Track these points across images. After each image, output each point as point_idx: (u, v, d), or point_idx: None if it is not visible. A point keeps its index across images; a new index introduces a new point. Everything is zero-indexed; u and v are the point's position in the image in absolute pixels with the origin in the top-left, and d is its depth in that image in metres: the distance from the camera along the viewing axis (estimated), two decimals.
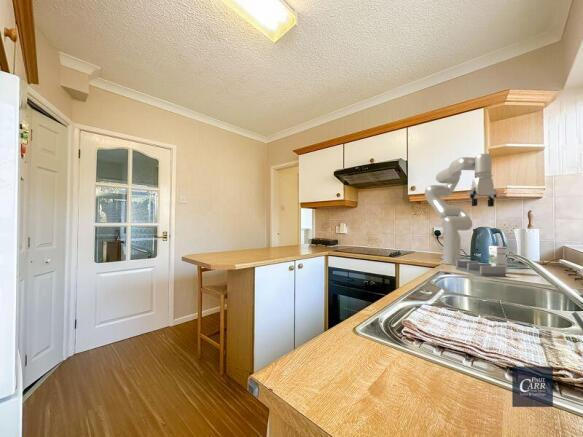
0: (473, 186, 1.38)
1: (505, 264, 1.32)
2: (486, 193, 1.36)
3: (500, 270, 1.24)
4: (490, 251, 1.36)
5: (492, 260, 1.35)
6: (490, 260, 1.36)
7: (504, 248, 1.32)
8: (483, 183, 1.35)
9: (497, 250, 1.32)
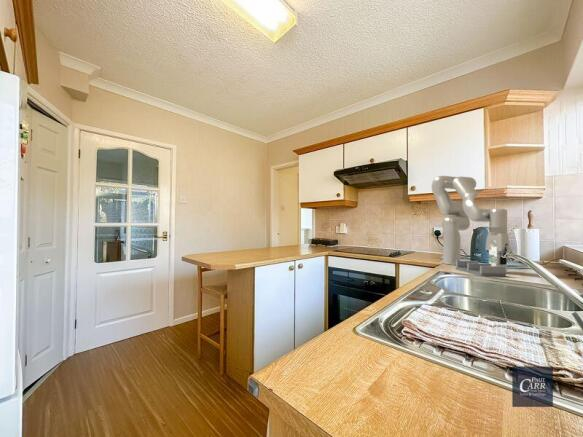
0: (505, 242, 1.30)
1: None
2: None
3: (500, 270, 1.24)
4: (490, 251, 1.36)
5: (492, 260, 1.35)
6: (490, 260, 1.36)
7: None
8: None
9: None
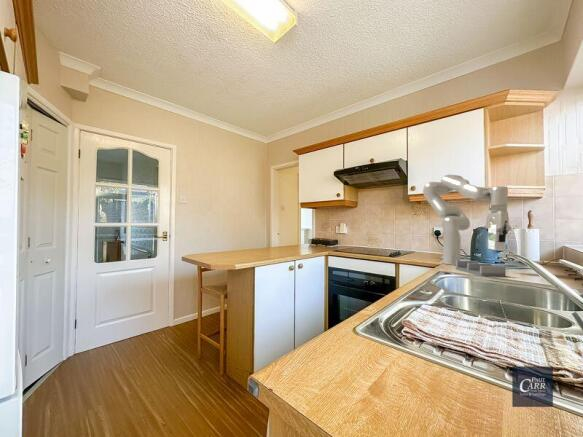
0: (504, 219, 1.30)
1: None
2: None
3: (500, 270, 1.24)
4: (489, 229, 1.37)
5: (491, 237, 1.35)
6: (489, 238, 1.37)
7: None
8: None
9: (496, 227, 1.32)
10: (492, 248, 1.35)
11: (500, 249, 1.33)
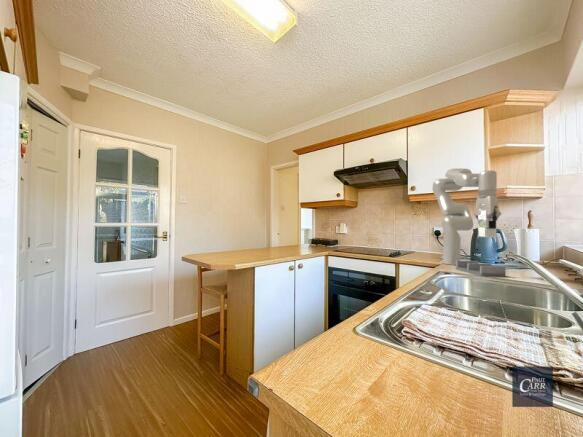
0: (494, 204, 1.24)
1: (494, 228, 1.26)
2: None
3: (500, 270, 1.24)
4: (479, 216, 1.30)
5: (481, 224, 1.29)
6: (479, 225, 1.30)
7: None
8: None
9: None
10: (482, 235, 1.28)
11: (491, 236, 1.26)
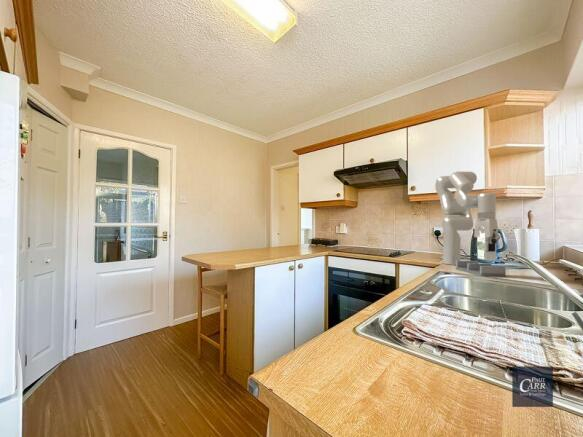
0: (493, 227, 1.23)
1: (494, 251, 1.25)
2: None
3: (500, 270, 1.24)
4: (478, 238, 1.30)
5: (480, 247, 1.28)
6: (478, 247, 1.30)
7: None
8: None
9: (485, 236, 1.25)
10: (482, 258, 1.27)
11: (490, 259, 1.25)
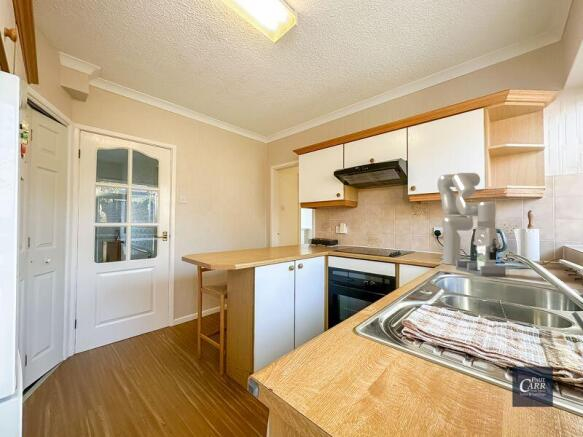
0: (493, 237, 1.23)
1: (494, 263, 1.26)
2: None
3: (500, 270, 1.24)
4: (478, 249, 1.30)
5: (480, 258, 1.28)
6: (478, 258, 1.30)
7: None
8: None
9: (486, 248, 1.25)
10: None
11: None
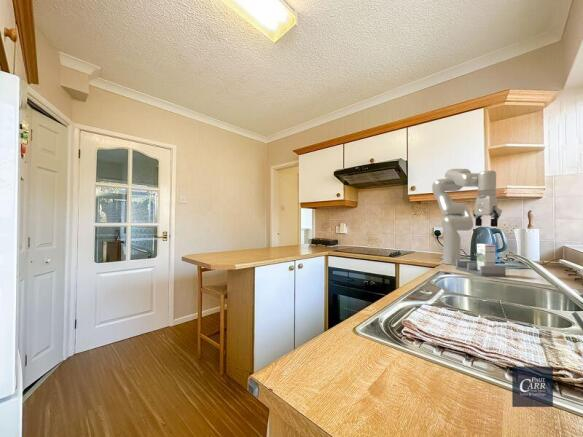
0: (493, 204, 1.24)
1: (493, 263, 1.26)
2: None
3: (500, 270, 1.24)
4: (478, 249, 1.30)
5: (480, 258, 1.28)
6: (478, 259, 1.30)
7: (492, 246, 1.26)
8: None
9: (485, 248, 1.26)
10: None
11: None
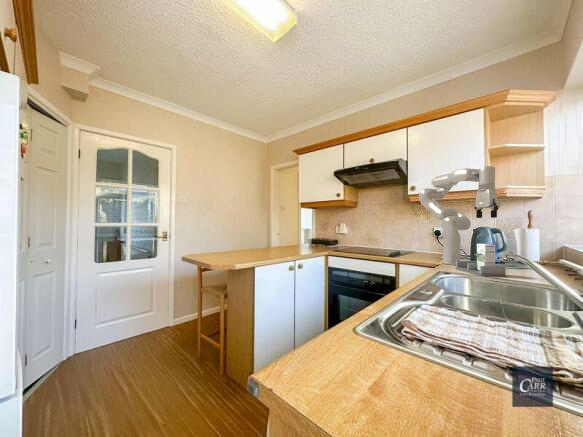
0: (493, 197, 1.35)
1: (493, 263, 1.26)
2: None
3: (500, 270, 1.24)
4: (478, 249, 1.30)
5: (480, 258, 1.28)
6: (478, 259, 1.30)
7: (492, 246, 1.26)
8: None
9: (485, 248, 1.26)
10: None
11: None
